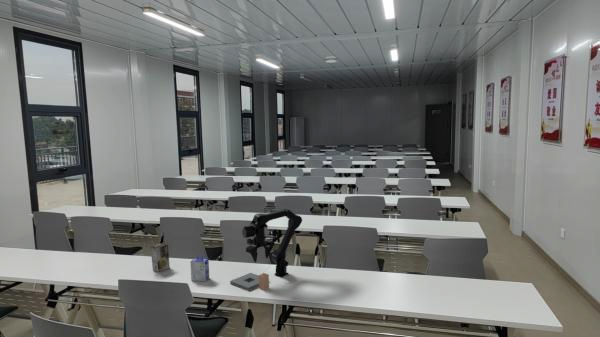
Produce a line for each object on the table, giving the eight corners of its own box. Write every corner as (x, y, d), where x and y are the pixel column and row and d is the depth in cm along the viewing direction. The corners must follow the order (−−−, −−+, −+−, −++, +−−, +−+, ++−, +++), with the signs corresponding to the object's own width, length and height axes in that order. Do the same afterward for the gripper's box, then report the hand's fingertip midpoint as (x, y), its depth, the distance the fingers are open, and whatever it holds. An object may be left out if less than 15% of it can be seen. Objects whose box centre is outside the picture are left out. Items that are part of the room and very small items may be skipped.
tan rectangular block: (264, 286, 226) (263, 273, 225) (269, 288, 224) (268, 274, 223) (259, 288, 223) (258, 275, 222) (264, 290, 221) (263, 276, 220)
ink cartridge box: (210, 278, 241) (208, 255, 239) (206, 281, 235) (204, 258, 234) (195, 277, 243) (193, 254, 241) (191, 280, 237) (189, 257, 236)
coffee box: (164, 265, 264) (162, 242, 262) (169, 267, 260) (168, 244, 258) (152, 270, 256) (150, 246, 254) (157, 272, 253) (156, 247, 251)
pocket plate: (250, 275, 243) (250, 272, 243) (268, 281, 232) (268, 278, 232) (230, 283, 231) (230, 280, 231) (248, 290, 220) (248, 287, 220)
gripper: (262, 229, 245) (263, 253, 247) (239, 236, 231) (240, 261, 233) (274, 232, 238) (275, 257, 240) (251, 239, 224) (252, 265, 226)
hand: (261, 260), depth 235 cm, fingers open, 9 cm apart
